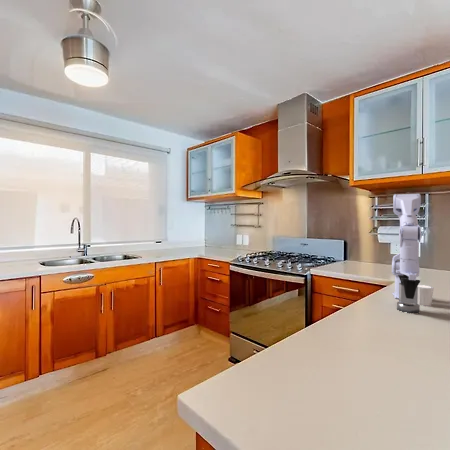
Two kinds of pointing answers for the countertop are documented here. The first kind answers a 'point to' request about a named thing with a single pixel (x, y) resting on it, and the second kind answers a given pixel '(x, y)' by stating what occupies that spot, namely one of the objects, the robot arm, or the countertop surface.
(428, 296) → the shot glass
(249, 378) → the countertop surface
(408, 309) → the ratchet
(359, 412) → the countertop surface
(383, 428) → the countertop surface
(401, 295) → the socket
